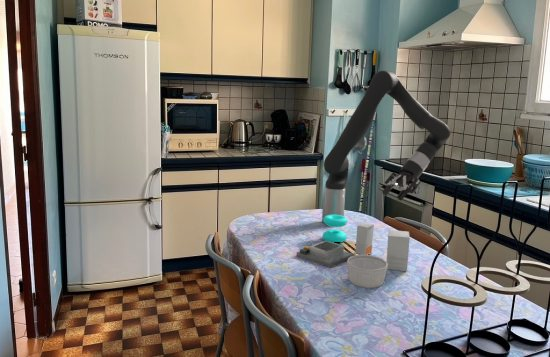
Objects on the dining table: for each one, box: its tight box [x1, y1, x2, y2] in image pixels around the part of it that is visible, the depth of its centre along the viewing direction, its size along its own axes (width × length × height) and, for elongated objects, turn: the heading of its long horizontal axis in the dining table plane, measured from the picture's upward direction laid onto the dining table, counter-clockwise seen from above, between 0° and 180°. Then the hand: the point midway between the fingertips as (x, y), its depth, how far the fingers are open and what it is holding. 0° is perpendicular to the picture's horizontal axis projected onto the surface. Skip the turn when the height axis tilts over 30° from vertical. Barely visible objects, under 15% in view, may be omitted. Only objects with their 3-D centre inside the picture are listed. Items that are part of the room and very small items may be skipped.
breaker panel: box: [296, 240, 354, 269], centre depth 175 cm, size 16×14×4 cm
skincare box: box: [354, 221, 375, 255], centre depth 178 cm, size 6×4×12 cm
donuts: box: [322, 215, 348, 243], centre depth 194 cm, size 10×10×10 cm
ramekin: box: [346, 254, 388, 289], centre depth 154 cm, size 13×13×7 cm
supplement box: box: [386, 229, 411, 272], centre depth 166 cm, size 7×7×13 cm
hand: (391, 196), depth 180 cm, fingers open, 8 cm apart
